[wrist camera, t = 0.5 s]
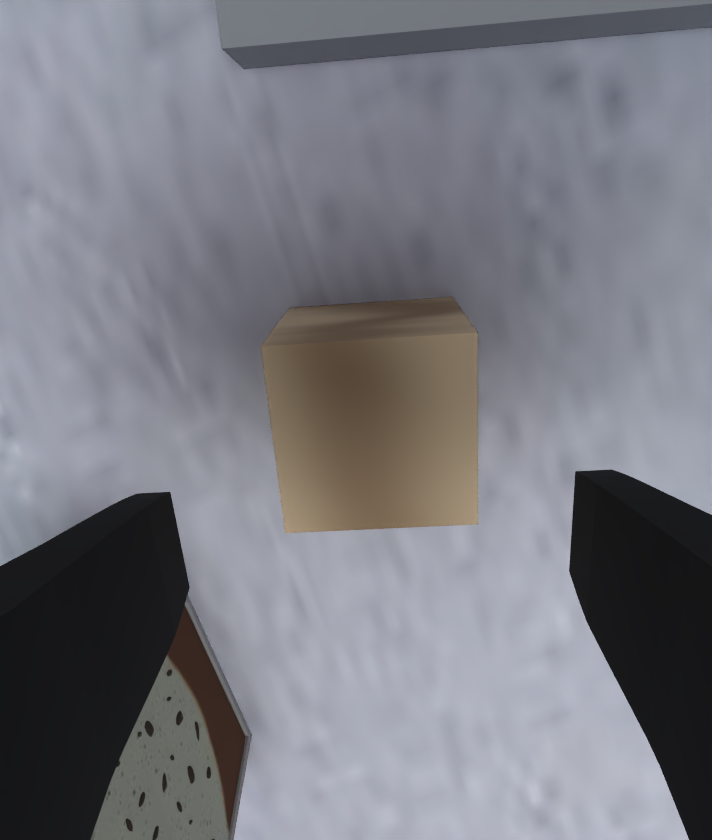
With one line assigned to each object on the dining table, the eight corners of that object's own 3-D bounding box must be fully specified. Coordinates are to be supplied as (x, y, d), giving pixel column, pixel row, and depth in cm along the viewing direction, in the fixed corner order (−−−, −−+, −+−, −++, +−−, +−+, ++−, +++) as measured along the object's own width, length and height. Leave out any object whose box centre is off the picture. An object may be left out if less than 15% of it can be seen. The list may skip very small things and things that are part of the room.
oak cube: (452, 296, 18) (477, 332, 14) (454, 446, 20) (477, 524, 16) (289, 307, 19) (260, 346, 14) (306, 454, 20) (285, 532, 16)
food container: (-5, 549, 22) (-284, 812, 13) (149, 511, 21) (-29, 761, 12) (130, 785, 26) (-7, 1114, 17) (263, 760, 25) (197, 1091, 16)
